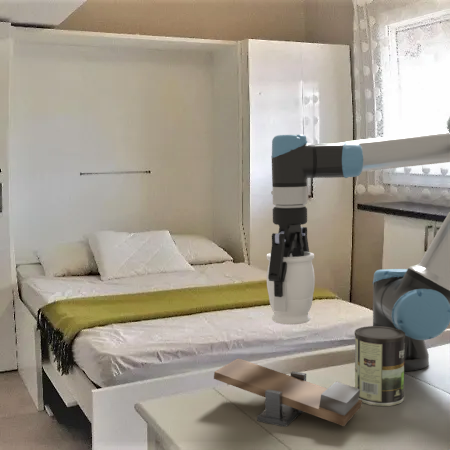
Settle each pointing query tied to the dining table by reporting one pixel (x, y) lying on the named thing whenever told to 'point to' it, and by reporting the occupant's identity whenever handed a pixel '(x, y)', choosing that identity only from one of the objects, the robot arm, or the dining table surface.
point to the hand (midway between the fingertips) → (291, 305)
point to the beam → (294, 390)
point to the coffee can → (379, 365)
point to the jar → (295, 289)
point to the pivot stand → (279, 407)
